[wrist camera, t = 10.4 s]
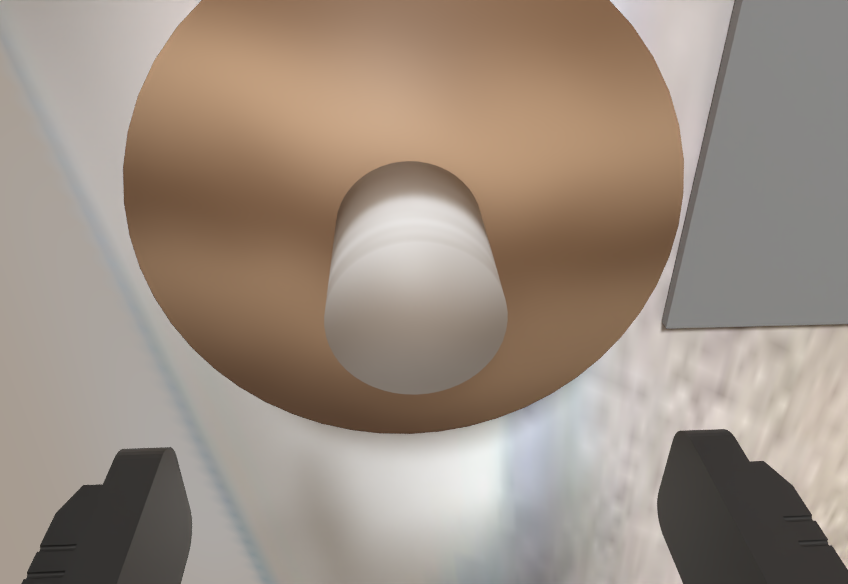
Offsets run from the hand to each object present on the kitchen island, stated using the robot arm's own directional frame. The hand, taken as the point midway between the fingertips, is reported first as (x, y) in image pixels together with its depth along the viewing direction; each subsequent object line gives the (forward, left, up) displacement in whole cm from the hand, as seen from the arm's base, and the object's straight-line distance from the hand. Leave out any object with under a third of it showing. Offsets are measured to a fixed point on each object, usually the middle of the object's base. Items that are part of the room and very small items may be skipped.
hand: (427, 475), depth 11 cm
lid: (0, 0, -10) cm, 10 cm away
